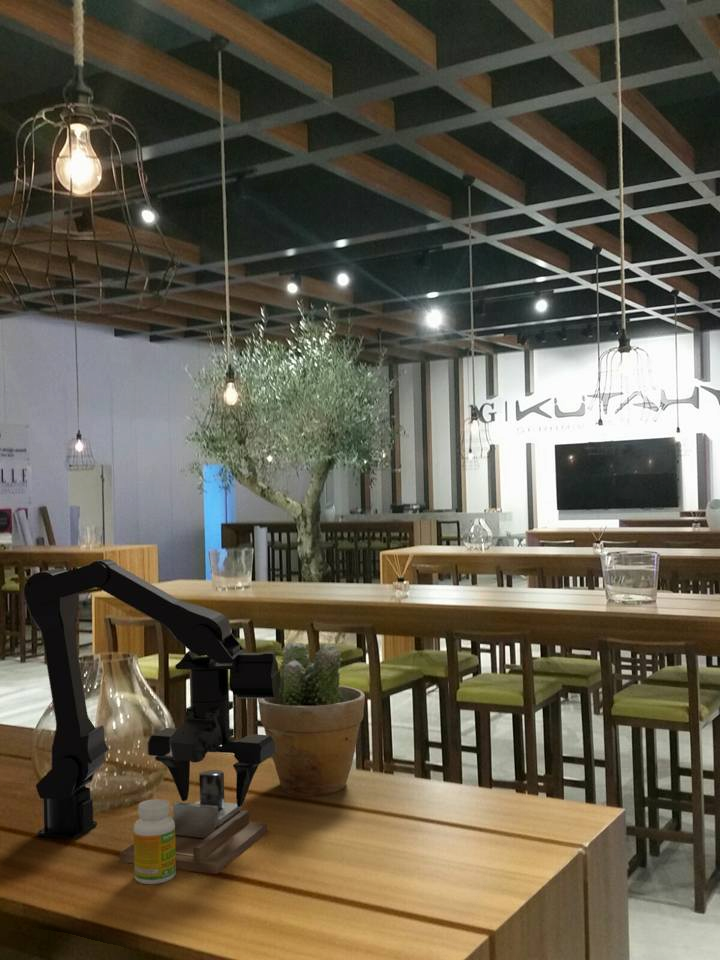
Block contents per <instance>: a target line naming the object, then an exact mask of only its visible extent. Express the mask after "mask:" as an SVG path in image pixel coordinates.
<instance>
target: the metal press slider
mask: <svg viewBox="0 0 720 960" xmlns="http://www.w3.org/2000/svg"><path fill="white" fill-rule="evenodd" d="M198 775H199V777H198V779H199V780H198V781H199V800H198V801H195V802H194V803H192V802H184V801H175V802H174V803H172V818H173V820H174V822H175V835H182V836H191V837H200V838H207V837H208V836H209V835H211V834H212V833H213V832H215V831H216V830H217V829H219V828H220V827H221V826H223V825H224V824H225V823H227V822H228V821H229V820H231V819H232V818H233V817H235V816H236V815H237V814H239V813H240V812H241V811H242V806H240V807H238V806H237V802H236V803H235V802H226V801H225V773H224V771H223V770H218V769H217V770H216V769H211V770H210V769H209V770H204V771H201V772H200V773H199V774H198Z"/></svg>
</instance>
